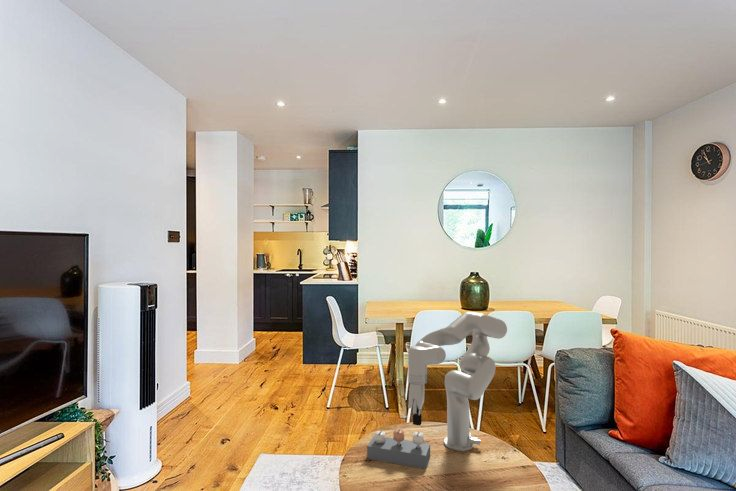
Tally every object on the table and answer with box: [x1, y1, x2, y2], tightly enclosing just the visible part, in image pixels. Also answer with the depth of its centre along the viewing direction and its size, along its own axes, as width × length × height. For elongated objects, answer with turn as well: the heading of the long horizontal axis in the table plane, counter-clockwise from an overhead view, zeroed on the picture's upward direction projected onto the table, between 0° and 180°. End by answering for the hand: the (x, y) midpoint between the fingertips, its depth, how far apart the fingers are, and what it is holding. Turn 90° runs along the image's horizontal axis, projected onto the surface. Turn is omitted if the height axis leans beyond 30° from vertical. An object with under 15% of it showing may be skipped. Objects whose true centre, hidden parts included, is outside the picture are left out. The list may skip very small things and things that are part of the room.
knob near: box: [412, 431, 425, 449], centre depth 154 cm, size 4×4×6 cm
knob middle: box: [392, 428, 405, 446], centre depth 157 cm, size 4×4×6 cm
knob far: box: [374, 430, 386, 443], centre depth 159 cm, size 4×4×6 cm
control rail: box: [366, 434, 431, 470], centre depth 157 cm, size 24×10×5 cm, turn 71°
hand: (417, 424), depth 154 cm, fingers closed
